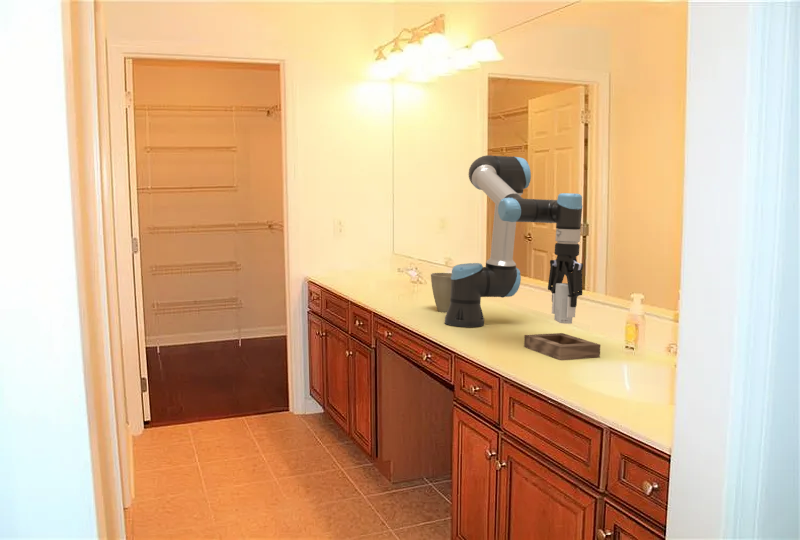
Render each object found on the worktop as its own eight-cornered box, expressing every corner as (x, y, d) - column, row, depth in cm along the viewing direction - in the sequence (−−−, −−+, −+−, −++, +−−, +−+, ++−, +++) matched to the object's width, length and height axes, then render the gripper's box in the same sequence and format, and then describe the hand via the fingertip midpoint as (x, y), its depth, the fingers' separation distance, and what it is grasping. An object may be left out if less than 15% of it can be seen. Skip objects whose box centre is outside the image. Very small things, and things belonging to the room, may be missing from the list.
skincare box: (572, 324, 206) (575, 285, 205) (558, 323, 206) (561, 285, 205) (566, 320, 212) (569, 282, 211) (552, 319, 212) (555, 282, 211)
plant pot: (425, 312, 281) (426, 275, 279) (434, 307, 295) (435, 272, 293) (459, 315, 276) (461, 277, 275) (466, 310, 290) (468, 274, 289)
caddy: (523, 347, 216) (524, 335, 215) (561, 344, 222) (562, 333, 221) (560, 360, 198) (560, 347, 198) (599, 357, 204) (600, 344, 204)
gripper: (538, 240, 214) (534, 310, 216) (578, 244, 196) (573, 320, 198) (557, 241, 217) (553, 310, 219) (598, 244, 199) (593, 320, 201)
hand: (563, 315), depth 209 cm, fingers closed on skincare box, 7 cm apart
